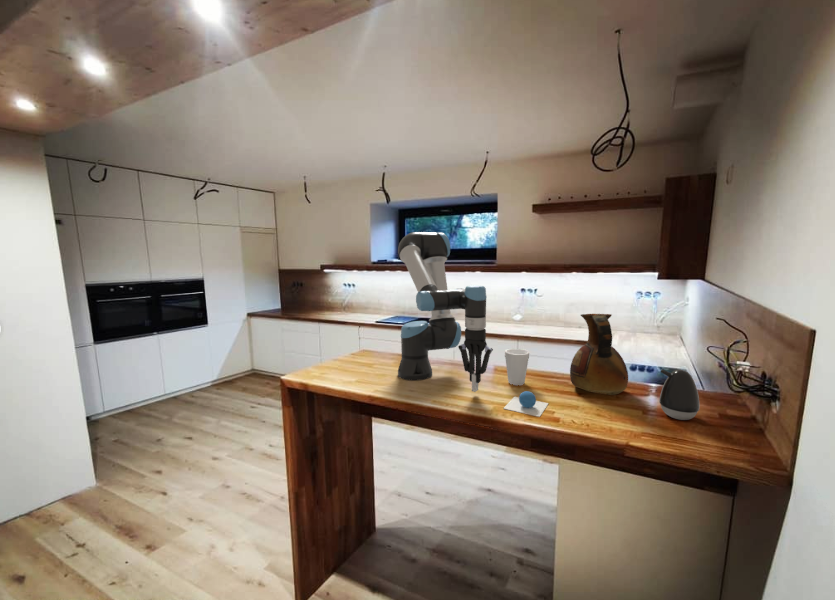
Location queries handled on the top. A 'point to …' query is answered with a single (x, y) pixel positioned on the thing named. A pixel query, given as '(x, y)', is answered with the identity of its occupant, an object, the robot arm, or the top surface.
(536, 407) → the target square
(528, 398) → the ball
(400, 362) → the robot arm
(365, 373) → the top surface
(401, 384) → the top surface
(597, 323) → the ceramic pitcher
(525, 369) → the foam cup
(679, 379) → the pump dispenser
